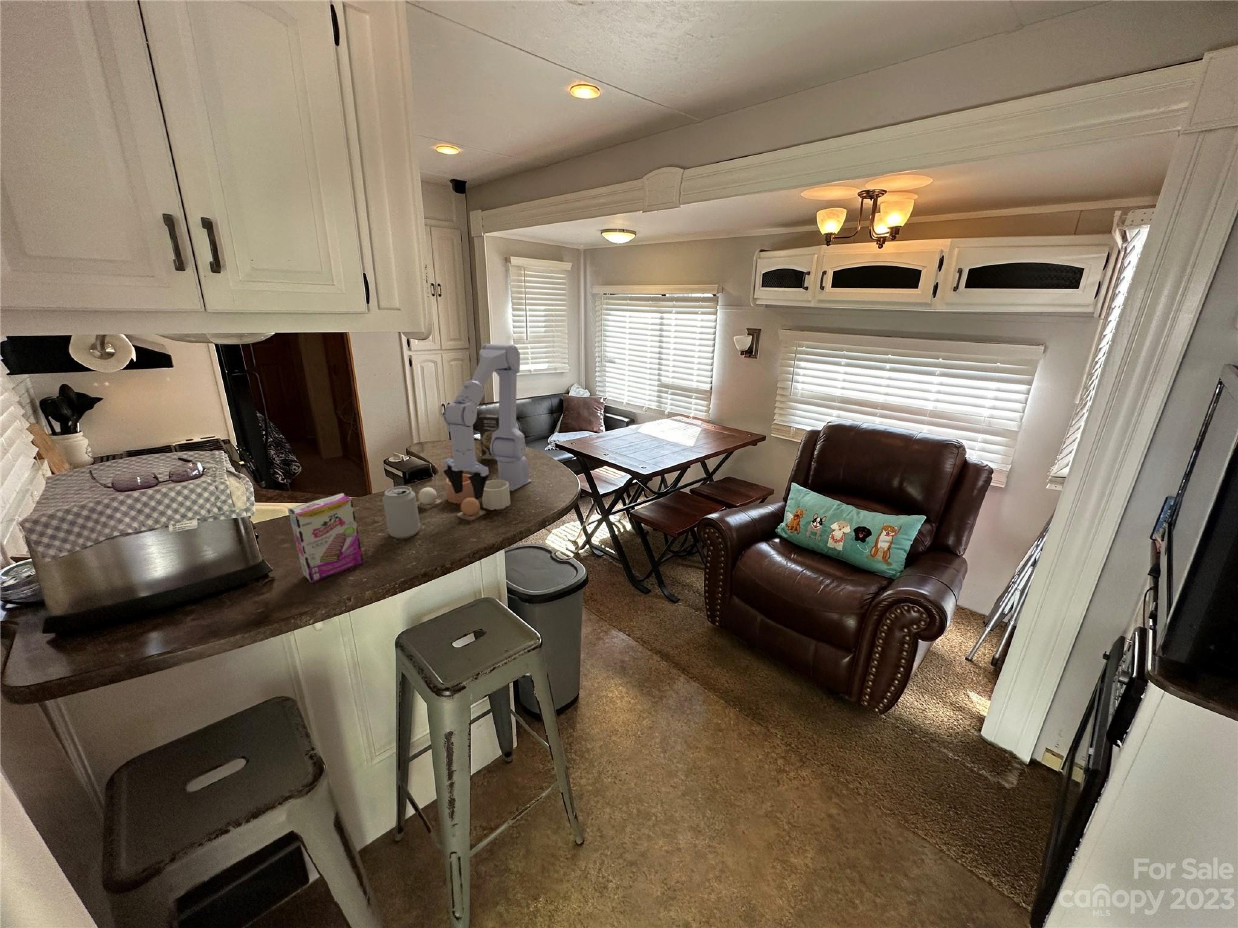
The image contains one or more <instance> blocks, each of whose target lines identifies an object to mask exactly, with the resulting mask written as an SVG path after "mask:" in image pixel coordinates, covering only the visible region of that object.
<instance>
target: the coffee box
mask: <svg viewBox="0 0 1238 928" xmlns="http://www.w3.org/2000/svg"><path fill="white" fill-rule="evenodd" d="M477 419H478V427H479V439H480V448H481V450H480V451H481V458H482V459H485V460H495V457H494V456H493V455H492V454H491V451H490V444H491V440H492V434H493V433H494V432H495V431H496V430H498V429H499V413H496V412H495V413H493V412H492V413H491V412H485V413H482V414H480V415H479V416H478V417H477ZM502 438H505V437H502Z"/></svg>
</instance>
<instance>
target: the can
mask: <svg viewBox="0 0 1238 928" xmlns="http://www.w3.org/2000/svg"><path fill="white" fill-rule="evenodd" d="M383 494H384V496H383V497H382V504H383V509H384V514H385V520H386V525H387V531H388V535H389V536H391V537H393V538H395V539H407V538H411V537H413V536H415V535H416V534H417V533H418V532H419V531H420V529H421V523H420V522H421V521H420V518H419V517H420V516H419V509H418V506H417V499H416V497H417V496H416V493H415V492H414V491H413V490H412V488H411V487H410V486H406V485H399V486H394V487H390V488H388V489H386V490H385V491H384V493H383Z"/></svg>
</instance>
